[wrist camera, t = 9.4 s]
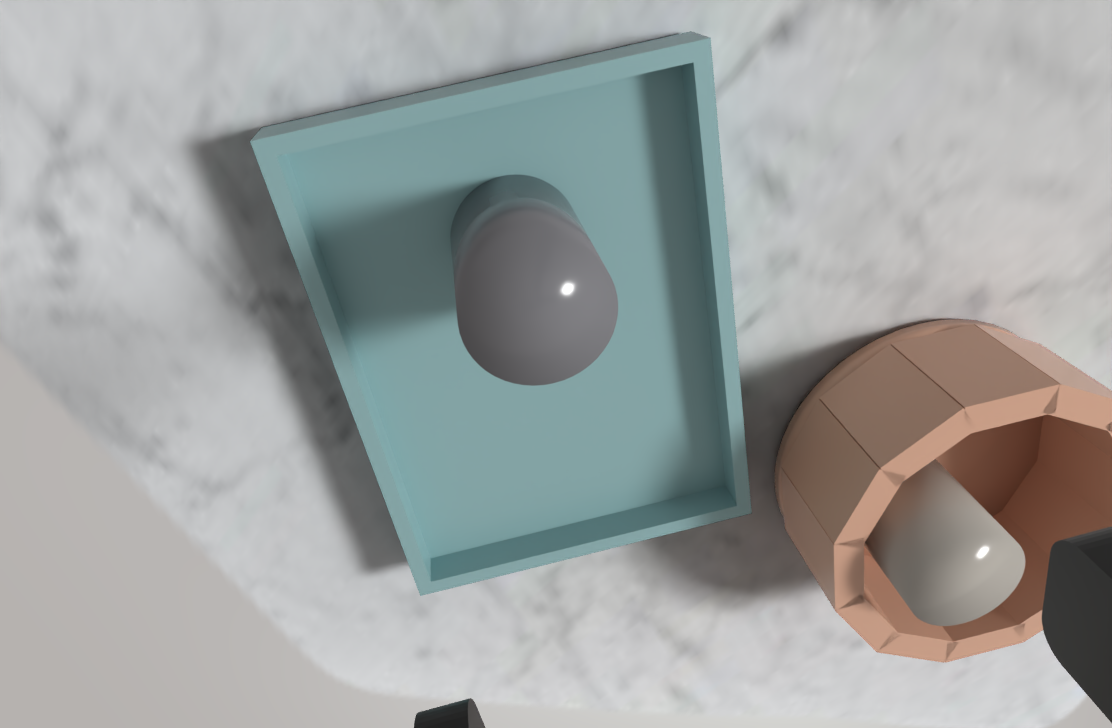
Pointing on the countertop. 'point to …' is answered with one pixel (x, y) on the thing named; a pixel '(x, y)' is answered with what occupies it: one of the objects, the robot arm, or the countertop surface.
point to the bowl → (963, 450)
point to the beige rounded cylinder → (944, 550)
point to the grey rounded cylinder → (529, 283)
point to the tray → (431, 317)
